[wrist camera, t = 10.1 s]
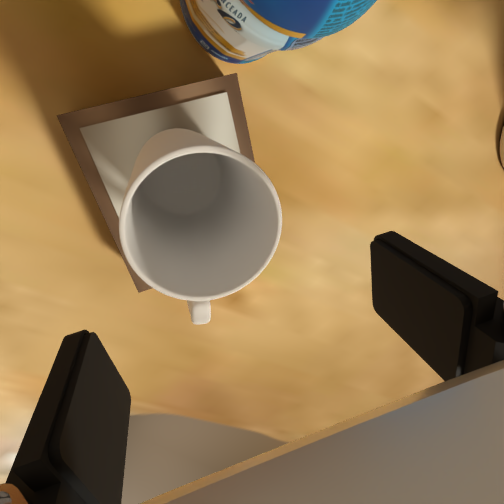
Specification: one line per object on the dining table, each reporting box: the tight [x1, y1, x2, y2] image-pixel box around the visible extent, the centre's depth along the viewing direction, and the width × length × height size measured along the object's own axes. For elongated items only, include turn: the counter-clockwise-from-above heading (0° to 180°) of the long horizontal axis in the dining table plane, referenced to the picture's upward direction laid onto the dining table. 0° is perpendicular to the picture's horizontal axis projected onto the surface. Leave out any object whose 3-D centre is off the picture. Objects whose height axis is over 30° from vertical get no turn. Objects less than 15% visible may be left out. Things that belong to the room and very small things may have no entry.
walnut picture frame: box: [57, 73, 255, 292], centre depth 26 cm, size 12×14×4 cm
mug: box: [119, 128, 282, 324], centre depth 19 cm, size 10×7×12 cm, turn 175°
